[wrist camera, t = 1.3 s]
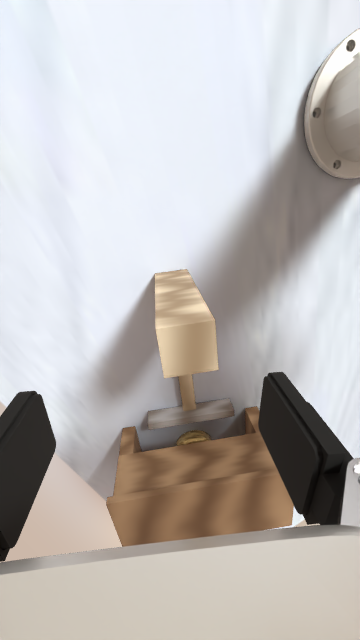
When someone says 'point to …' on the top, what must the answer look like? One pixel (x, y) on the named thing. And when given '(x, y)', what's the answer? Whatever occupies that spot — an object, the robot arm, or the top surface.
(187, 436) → the brass token
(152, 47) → the top surface
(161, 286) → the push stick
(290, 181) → the top surface
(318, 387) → the top surface
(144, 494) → the cabinet
